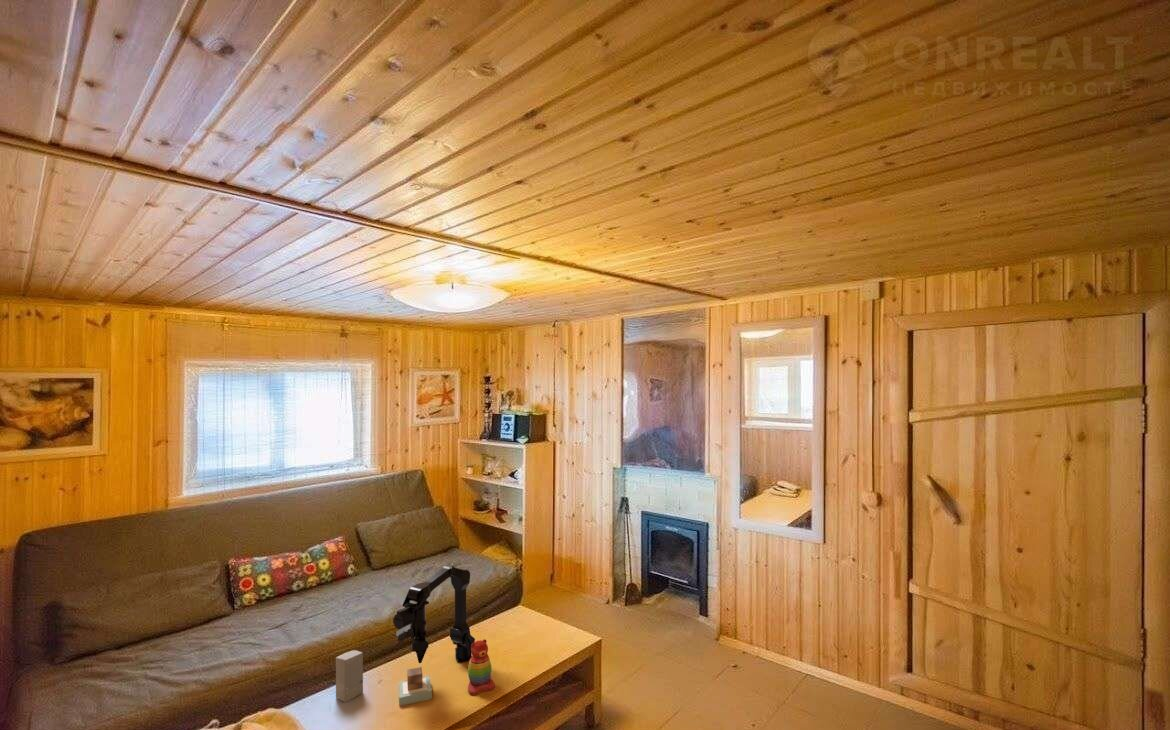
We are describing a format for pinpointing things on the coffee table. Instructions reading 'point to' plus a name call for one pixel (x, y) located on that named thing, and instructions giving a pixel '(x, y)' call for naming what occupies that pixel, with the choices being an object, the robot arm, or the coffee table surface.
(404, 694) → the base slab
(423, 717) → the coffee table surface
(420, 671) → the walnut cube
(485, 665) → the stacking bear
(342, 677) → the skincare box
